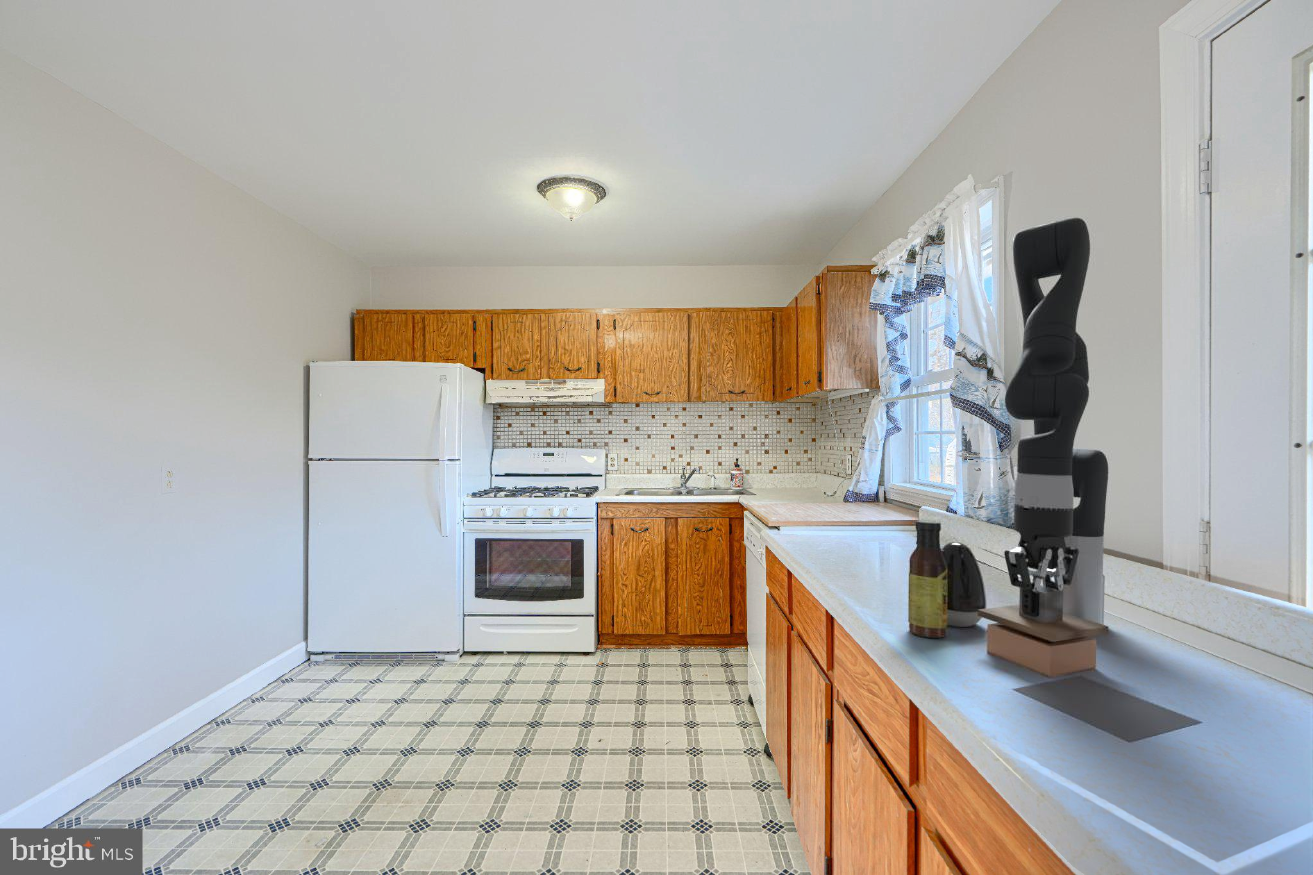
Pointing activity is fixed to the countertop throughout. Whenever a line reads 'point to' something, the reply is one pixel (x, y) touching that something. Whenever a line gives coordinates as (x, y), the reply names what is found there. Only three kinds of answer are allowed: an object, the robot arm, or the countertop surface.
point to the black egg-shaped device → (963, 586)
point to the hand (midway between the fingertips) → (1040, 613)
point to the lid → (1045, 618)
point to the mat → (1107, 708)
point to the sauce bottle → (927, 583)
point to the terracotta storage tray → (1041, 651)
